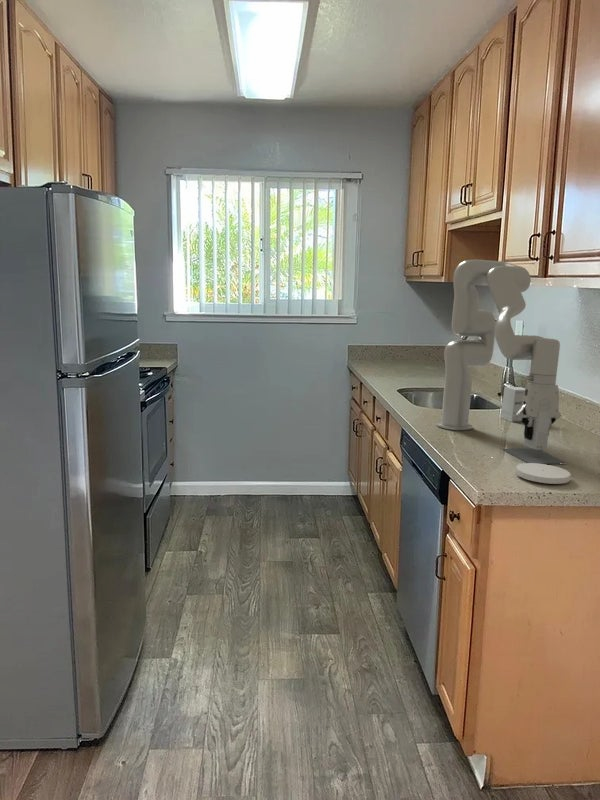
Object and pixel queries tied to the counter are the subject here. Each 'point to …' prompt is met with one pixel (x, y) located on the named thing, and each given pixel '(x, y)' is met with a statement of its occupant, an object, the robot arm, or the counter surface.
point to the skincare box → (539, 432)
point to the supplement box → (512, 403)
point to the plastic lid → (542, 473)
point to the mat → (533, 456)
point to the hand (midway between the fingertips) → (535, 438)
